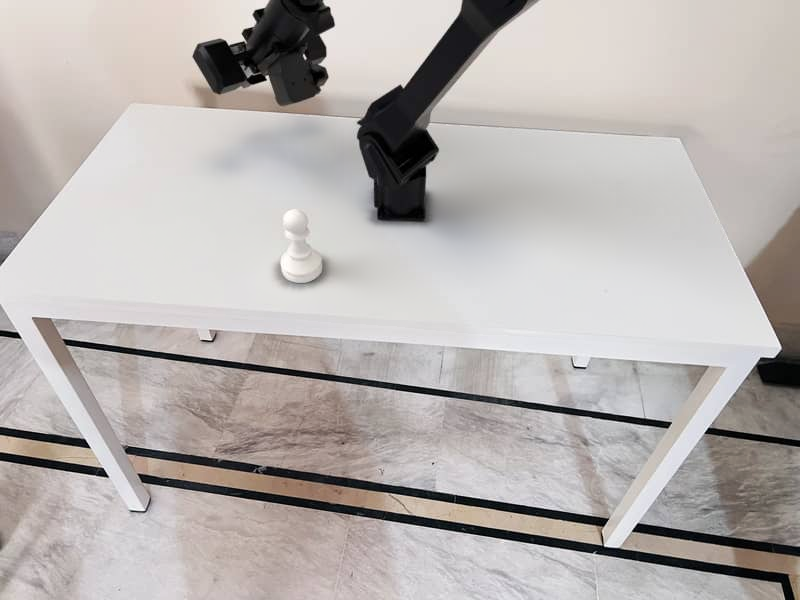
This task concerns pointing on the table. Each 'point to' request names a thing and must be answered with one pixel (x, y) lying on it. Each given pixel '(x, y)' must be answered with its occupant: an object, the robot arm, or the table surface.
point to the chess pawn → (299, 250)
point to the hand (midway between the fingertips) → (243, 85)
